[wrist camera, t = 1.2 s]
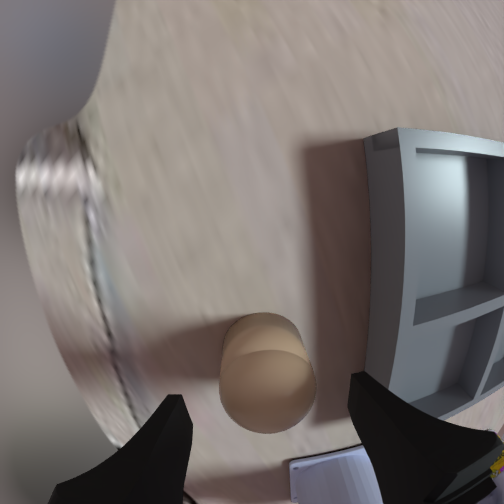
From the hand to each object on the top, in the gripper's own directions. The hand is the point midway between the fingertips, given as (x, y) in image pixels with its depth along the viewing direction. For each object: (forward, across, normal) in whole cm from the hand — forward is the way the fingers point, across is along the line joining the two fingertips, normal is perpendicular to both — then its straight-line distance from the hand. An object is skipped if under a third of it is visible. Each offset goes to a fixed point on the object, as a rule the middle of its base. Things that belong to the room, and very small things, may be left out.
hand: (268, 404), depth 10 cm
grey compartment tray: (+5, -16, -1) cm, 16 cm away
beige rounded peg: (+5, 0, 0) cm, 5 cm away
